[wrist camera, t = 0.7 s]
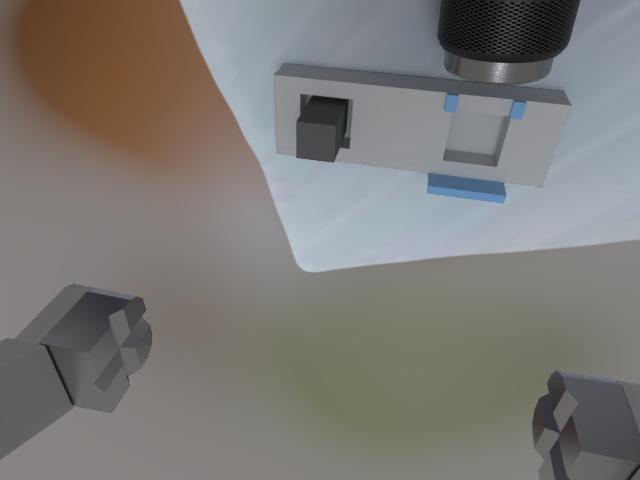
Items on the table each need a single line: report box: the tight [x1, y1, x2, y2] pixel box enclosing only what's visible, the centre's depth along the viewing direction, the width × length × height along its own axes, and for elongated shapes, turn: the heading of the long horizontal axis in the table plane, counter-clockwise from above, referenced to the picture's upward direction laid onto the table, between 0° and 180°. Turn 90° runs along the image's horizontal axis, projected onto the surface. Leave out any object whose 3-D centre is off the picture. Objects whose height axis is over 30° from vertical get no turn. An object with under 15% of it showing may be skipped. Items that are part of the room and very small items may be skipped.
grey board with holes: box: [274, 64, 572, 203], centre depth 45 cm, size 9×26×6 cm, turn 88°
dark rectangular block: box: [296, 95, 349, 162], centre depth 45 cm, size 4×4×7 cm
